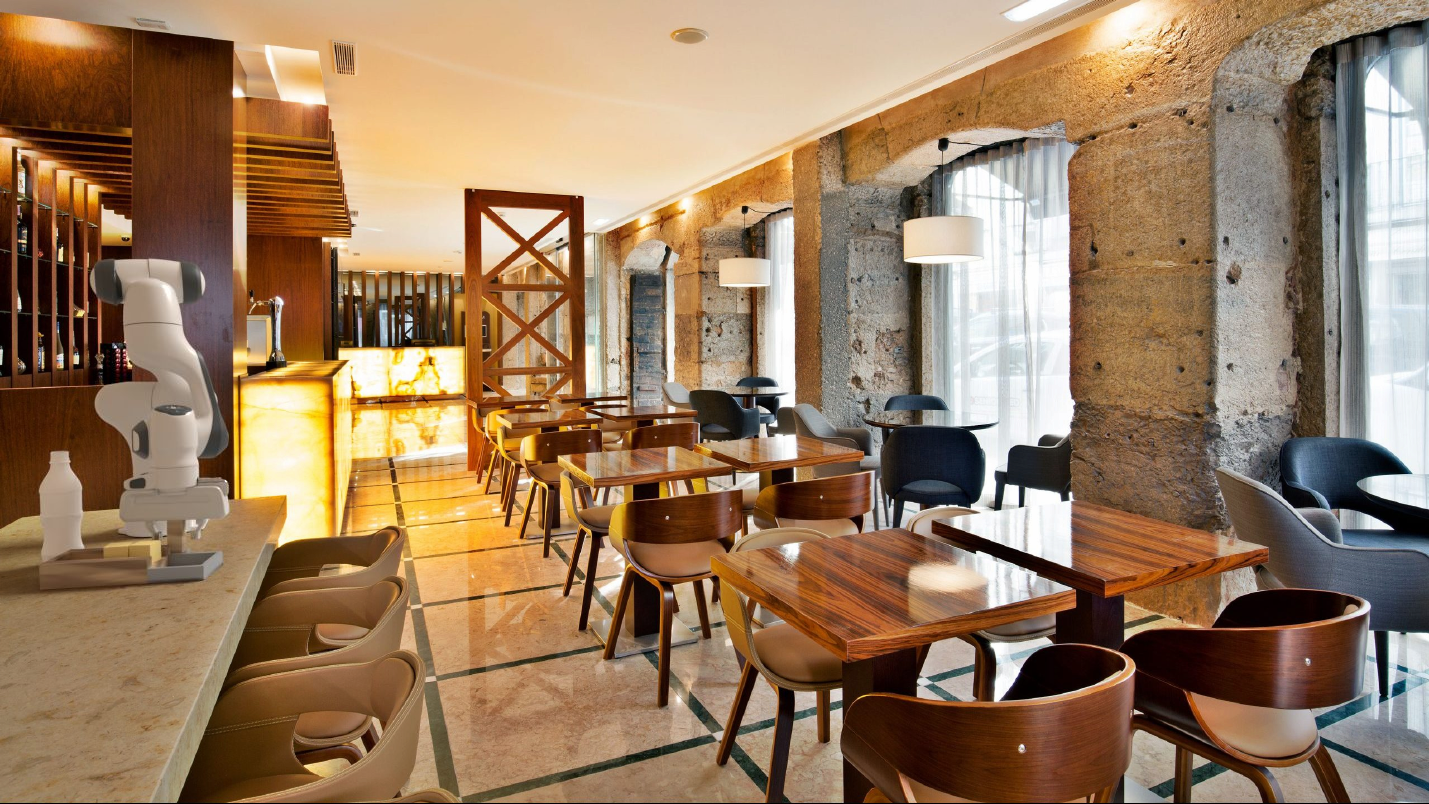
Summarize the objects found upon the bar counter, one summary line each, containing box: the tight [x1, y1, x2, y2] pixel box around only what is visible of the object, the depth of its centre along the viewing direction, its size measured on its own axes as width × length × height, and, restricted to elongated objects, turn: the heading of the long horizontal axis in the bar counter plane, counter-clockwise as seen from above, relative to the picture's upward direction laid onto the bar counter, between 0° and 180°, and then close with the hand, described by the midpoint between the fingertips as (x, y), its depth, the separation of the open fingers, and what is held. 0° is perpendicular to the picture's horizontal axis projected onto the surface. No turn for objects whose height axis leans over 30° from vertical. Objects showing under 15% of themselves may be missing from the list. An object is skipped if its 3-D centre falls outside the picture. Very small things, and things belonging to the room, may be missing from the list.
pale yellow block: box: [102, 541, 134, 558], centre depth 157 cm, size 4×4×4 cm
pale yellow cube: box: [129, 539, 162, 563], centre depth 159 cm, size 4×4×4 cm
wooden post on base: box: [166, 520, 191, 554], centre depth 169 cm, size 6×3×10 cm, turn 17°
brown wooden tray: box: [38, 544, 170, 591], centre depth 157 cm, size 12×18×5 cm, turn 107°
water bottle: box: [38, 450, 85, 563], centre depth 165 cm, size 7×7×25 cm
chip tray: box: [146, 550, 224, 584], centre depth 161 cm, size 12×10×3 cm
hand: (176, 539), depth 169 cm, fingers open, 6 cm apart
